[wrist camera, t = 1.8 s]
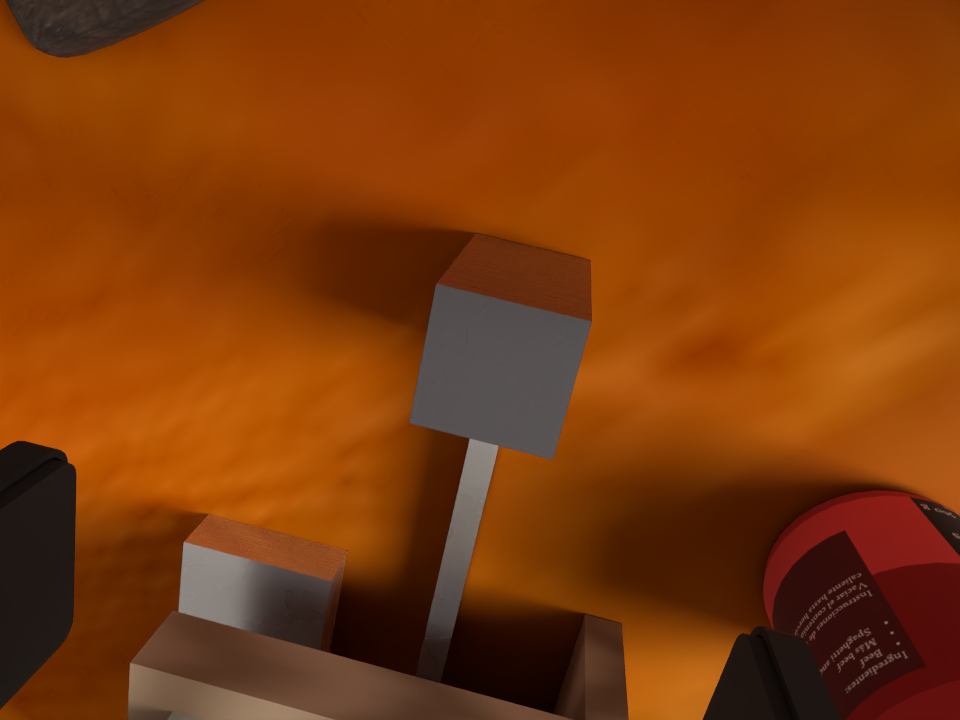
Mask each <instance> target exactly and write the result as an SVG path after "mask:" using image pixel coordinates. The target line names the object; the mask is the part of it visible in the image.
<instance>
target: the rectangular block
mask: <svg viewBox="0 0 960 720" xmlns="http://www.w3.org/2000/svg"><path fill="white" fill-rule="evenodd" d="M346 557H347V550H343V549H339V548H335V547H332V546H328V545H324V544H320V543H317V542H313V541H309V540H305V539H302V538H298V537H294V536H290V535H286V534H283V533H279V532H275V531H271V530H268V529H264V528H260V527H256V526H253V525H249V524H245V523H241V522H237V521H234V520H230V519H226V518H222V517H219V516H215V515H211V514H208V516H207V517H206V518H205V519H204V520H203V521H202V522H201V523H200V524H199V525H198V527H197V528H196V529H195V530H194V531H193V532H192V533H191V534H190V535H189V537H188V538H187V539H186V540H185V541H184V544H183V557H182V570H181V584H180V597H179V610H178V612H181V613H184V614H188V615H192V616H195V617H199V618H203V619H206V620H210V621H214V622H217V623H221V624H225V625H228V626H232V627H236V628H239V629H243V630H247V631H250V632H254V633H258V634H261V635H265V636H269V637H272V638H276V639H280V640H283V641H287V642H291V643H294V644H298V645H302V646H305V647H309V648H313V649H316V650H320V651H324V652H327V653H330V648H331V642H332V637H333V631H334V625H335V620H336V614H337V608H338V602H339V597H340V591H341V585H342V579H343V574H344V568H345V562H346Z"/></svg>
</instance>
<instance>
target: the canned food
mask: <svg viewBox="0 0 960 720" xmlns="http://www.w3.org/2000/svg"><path fill="white" fill-rule="evenodd" d="M763 597H764V605H765V609H766V612H767V615H768V618H769V621H770V624H771V626H772V629H774V630H778V631H782V632H786V633H790V634H794V635H798V636H800V637H802V638H804V639H805V641H806V642H807V644H808V646H809V648H810V651H811V653H812V655H813V657H814V660H815V662H816V664H817V666H818V669H819V671H820V673H821V675H822V677H823V680H824V682H825V684H826V686H827V689H828V691H829V693H830V695H831V698H832V700H833V702H834V704H835V707H836V709H837V711H838V713H839V716H840V718H841V720H960V514H958V513H957V512H955V511H954V510H952V509H950V508H947V507H945V506H943V505H941V504H939V503H936V502H934V501H931V500H929V499H926V498H924V497H921V496H919V495H914V494H909V493H904V492H899V491H883V490H872V491H864V492H855V493H850V494H847V495H843V496H839V497H836V498H832V499H830V500H828V501H825V502H823V503H821V504H819V505H816V506H814V507H812V508H811V509H809V510H808V511H806V512H805V513H803V514H802V515H800V516H799V517H797V518H796V519H795V520H794V521H793V522H792V523H791V524H790V525H789V526H788V527H787V528H786V529H785V530H784V531H783V532H782V533H781V535H780V536H779V538H778V539H777V540H776V542H775V543H774V545H773V546H772V549H771V552H770V554H769V557H768V559H767V562H766V569H765V577H764V584H763Z"/></svg>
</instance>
